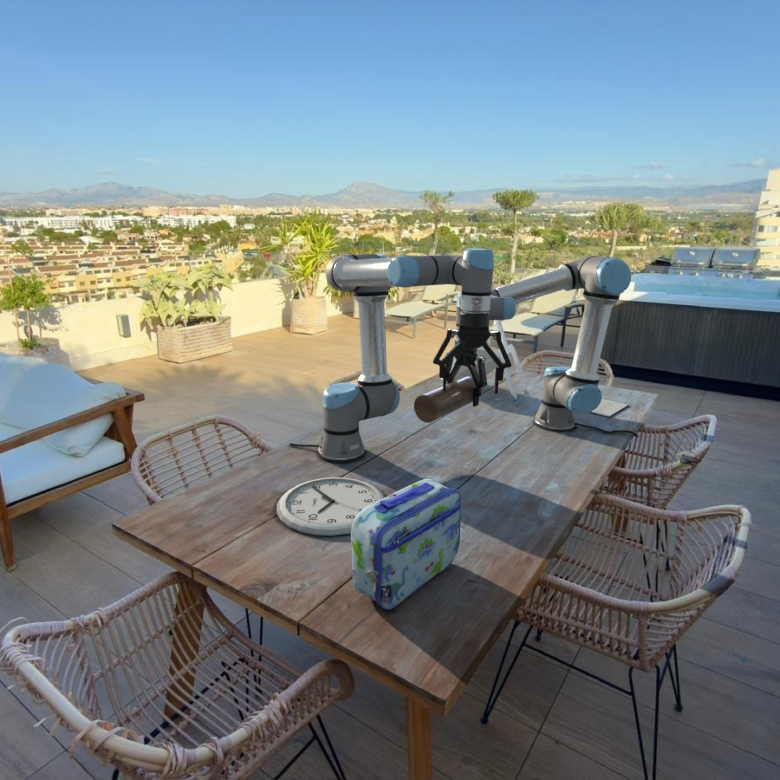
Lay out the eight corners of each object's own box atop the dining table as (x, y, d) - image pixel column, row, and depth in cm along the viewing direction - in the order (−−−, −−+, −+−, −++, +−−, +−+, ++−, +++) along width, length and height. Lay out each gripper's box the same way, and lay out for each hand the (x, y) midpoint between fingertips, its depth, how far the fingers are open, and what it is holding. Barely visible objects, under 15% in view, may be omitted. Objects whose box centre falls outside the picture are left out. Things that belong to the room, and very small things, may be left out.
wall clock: (392, 527, 129) (268, 531, 127) (391, 533, 130) (269, 537, 127) (383, 473, 158) (282, 475, 155) (383, 478, 158) (282, 480, 156)
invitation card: (608, 416, 214) (573, 407, 224) (608, 416, 214) (573, 408, 224) (628, 404, 229) (594, 396, 238) (628, 405, 229) (594, 397, 238)
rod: (458, 398, 186) (459, 374, 184) (480, 403, 181) (482, 378, 178) (413, 419, 166) (414, 392, 164) (436, 425, 161) (437, 398, 158)
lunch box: (380, 623, 100) (381, 528, 94) (344, 596, 108) (343, 505, 101) (464, 565, 118) (470, 482, 112) (428, 545, 125) (432, 466, 119)
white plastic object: (461, 429, 252) (437, 405, 227) (444, 352, 274) (420, 323, 250) (535, 404, 240) (518, 377, 215) (510, 326, 262) (492, 293, 237)
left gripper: (425, 311, 131) (422, 392, 137) (527, 315, 128) (519, 397, 134) (426, 307, 138) (423, 384, 144) (523, 310, 135) (516, 389, 142)
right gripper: (433, 336, 177) (431, 398, 184) (490, 345, 164) (485, 412, 171) (445, 332, 183) (443, 393, 190) (501, 341, 170) (496, 406, 177)
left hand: (469, 391), depth 139 cm, fingers open, 13 cm apart
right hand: (463, 402), depth 180 cm, fingers closed on rod, 9 cm apart
